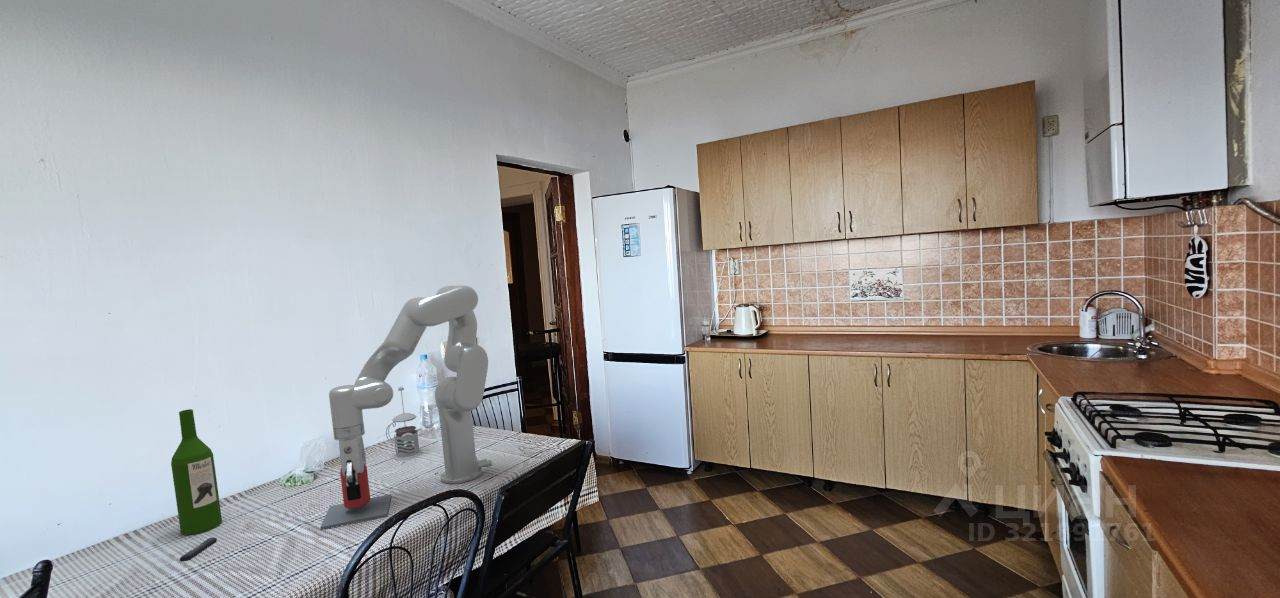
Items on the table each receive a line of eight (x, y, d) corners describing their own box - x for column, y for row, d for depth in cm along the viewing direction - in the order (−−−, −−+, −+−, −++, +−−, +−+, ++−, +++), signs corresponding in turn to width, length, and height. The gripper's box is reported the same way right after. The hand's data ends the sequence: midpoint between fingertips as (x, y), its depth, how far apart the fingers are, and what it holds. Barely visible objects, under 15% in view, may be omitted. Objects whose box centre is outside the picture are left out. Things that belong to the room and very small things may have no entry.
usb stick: (208, 542, 144) (207, 537, 144) (218, 542, 144) (217, 536, 144) (178, 562, 135) (177, 556, 135) (189, 562, 135) (188, 555, 135)
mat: (391, 496, 164) (391, 494, 164) (387, 516, 151) (387, 513, 151) (330, 508, 159) (329, 506, 159) (320, 530, 146) (320, 527, 146)
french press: (416, 459, 196) (408, 389, 194) (383, 461, 196) (375, 391, 194) (427, 449, 205) (420, 382, 203) (395, 452, 206) (388, 385, 204)
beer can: (359, 510, 151) (354, 466, 150) (338, 509, 152) (333, 466, 151) (375, 499, 157) (371, 457, 156) (355, 499, 159) (350, 457, 158)
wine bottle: (194, 537, 147) (178, 416, 145) (173, 533, 150) (156, 415, 148) (229, 521, 155) (214, 406, 153) (208, 518, 159) (193, 405, 156)
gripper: (360, 437, 146) (367, 503, 148) (367, 420, 163) (374, 480, 164) (327, 442, 144) (335, 509, 145) (338, 425, 160) (346, 485, 161)
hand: (356, 493), depth 155 cm, fingers closed on beer can, 6 cm apart
